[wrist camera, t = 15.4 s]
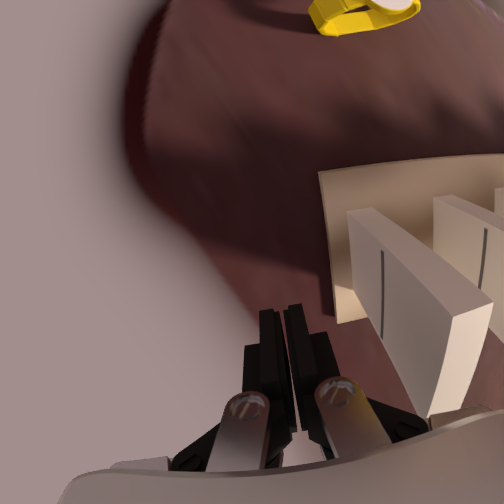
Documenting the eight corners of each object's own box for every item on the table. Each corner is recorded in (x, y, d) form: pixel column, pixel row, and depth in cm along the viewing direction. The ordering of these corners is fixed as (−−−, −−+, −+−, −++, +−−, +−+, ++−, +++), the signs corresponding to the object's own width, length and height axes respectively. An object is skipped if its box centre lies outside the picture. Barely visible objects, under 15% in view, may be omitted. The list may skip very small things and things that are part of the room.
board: (565, 246, 18) (570, 250, 17) (334, 317, 20) (337, 324, 19) (571, 153, 14) (577, 154, 13) (317, 172, 17) (320, 173, 16)
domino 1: (372, 207, 17) (494, 301, 6) (376, 284, 18) (458, 412, 8) (345, 211, 17) (451, 317, 6) (352, 290, 19) (421, 427, 8)
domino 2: (452, 194, 16) (582, 260, 6) (450, 266, 18) (549, 360, 8) (432, 197, 16) (564, 269, 6) (431, 271, 18) (529, 374, 8)
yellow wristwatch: (316, 52, 14) (334, 19, 9) (299, 14, 13) (307, -30, 8) (403, 36, 13) (447, 9, 8) (385, 0, 12) (421, -38, 7)
